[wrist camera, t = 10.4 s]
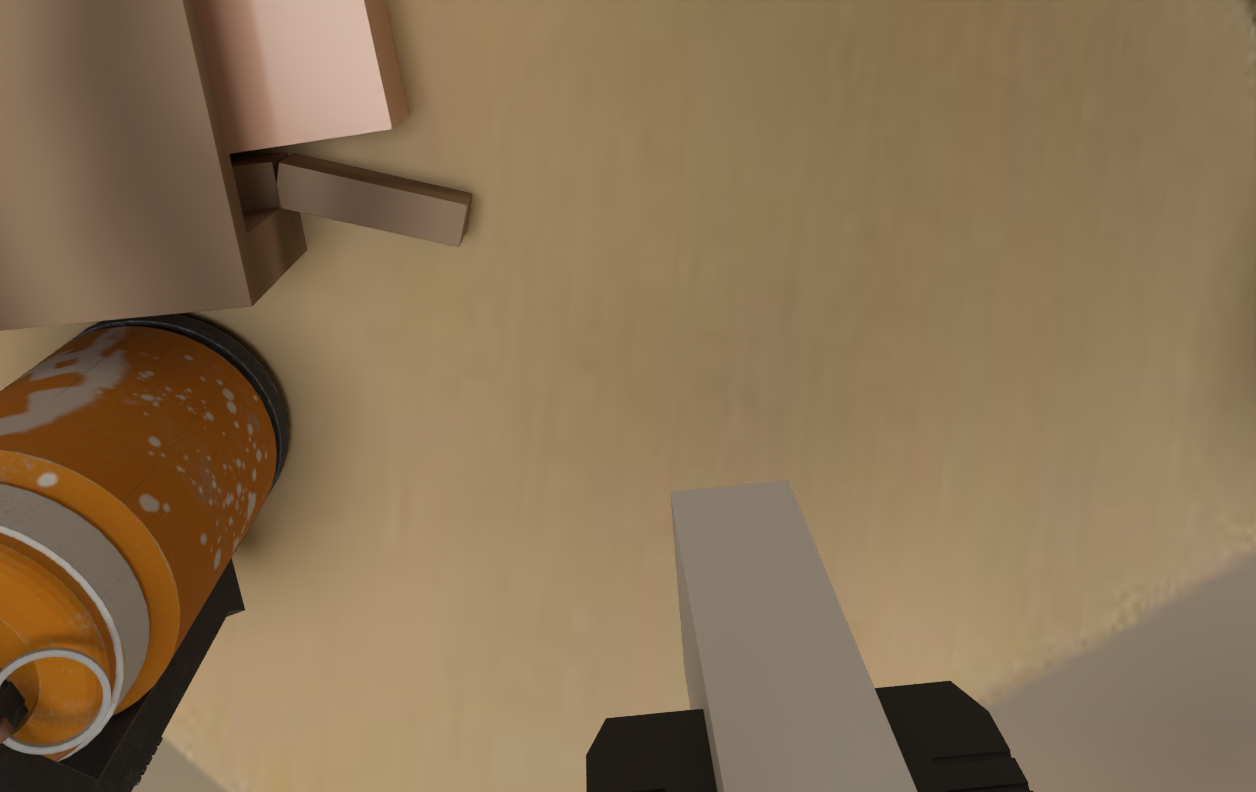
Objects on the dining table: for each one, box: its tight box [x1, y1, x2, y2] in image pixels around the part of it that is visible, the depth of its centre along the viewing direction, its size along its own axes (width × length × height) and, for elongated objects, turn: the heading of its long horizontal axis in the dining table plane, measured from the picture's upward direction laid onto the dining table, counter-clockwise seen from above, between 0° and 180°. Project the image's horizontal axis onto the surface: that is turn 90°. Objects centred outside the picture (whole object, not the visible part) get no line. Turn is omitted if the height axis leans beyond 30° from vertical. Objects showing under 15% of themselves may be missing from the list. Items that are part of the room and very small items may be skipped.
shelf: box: [0, 0, 472, 330], centre depth 32 cm, size 22×16×7 cm
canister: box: [0, 314, 288, 792], centre depth 32 cm, size 9×11×20 cm
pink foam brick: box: [195, 0, 409, 154], centre depth 34 cm, size 14×7×4 cm, turn 98°
